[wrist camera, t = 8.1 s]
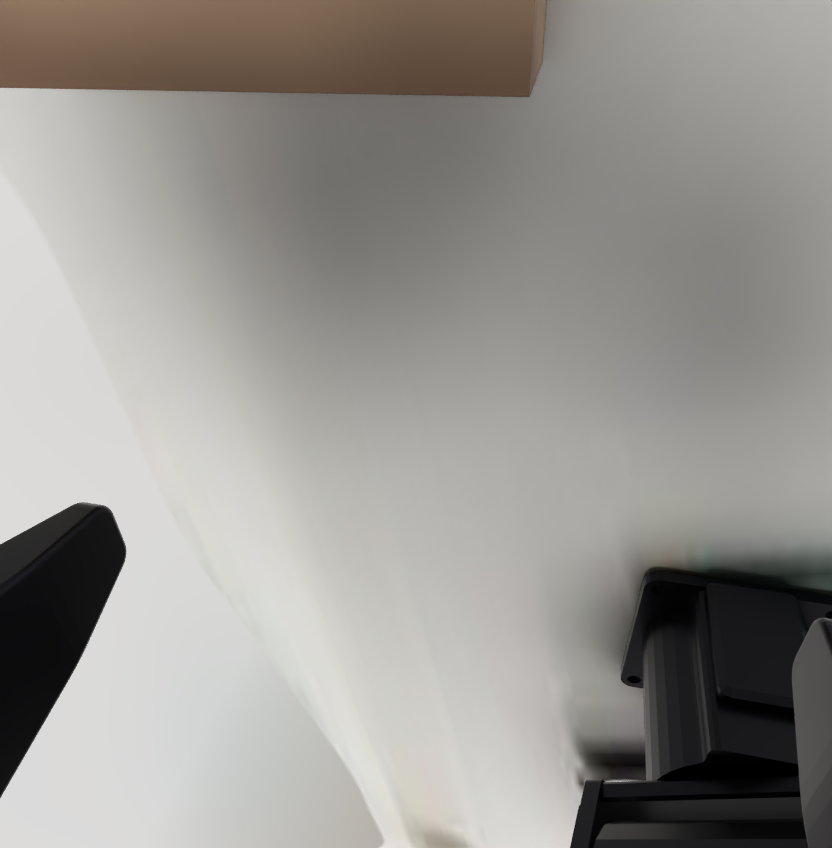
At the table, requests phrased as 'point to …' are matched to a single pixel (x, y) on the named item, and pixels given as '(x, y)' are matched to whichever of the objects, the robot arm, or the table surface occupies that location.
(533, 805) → the table surface
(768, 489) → the table surface
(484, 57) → the walnut base
